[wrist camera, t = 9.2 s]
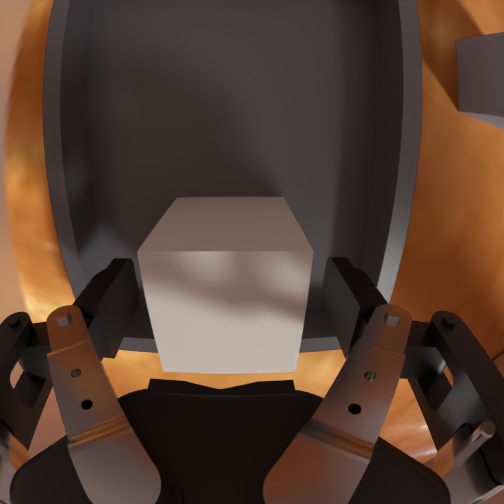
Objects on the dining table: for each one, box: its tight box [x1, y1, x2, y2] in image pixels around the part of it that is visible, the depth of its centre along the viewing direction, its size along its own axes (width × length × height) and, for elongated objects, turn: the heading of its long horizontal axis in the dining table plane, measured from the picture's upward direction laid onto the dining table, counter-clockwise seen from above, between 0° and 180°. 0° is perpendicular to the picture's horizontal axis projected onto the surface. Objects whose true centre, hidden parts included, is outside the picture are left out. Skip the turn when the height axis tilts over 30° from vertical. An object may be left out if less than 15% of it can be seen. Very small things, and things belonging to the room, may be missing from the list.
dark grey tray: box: [43, 0, 422, 353], centre depth 12 cm, size 20×16×4 cm
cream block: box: [137, 197, 313, 374], centre depth 12 cm, size 5×5×6 cm
